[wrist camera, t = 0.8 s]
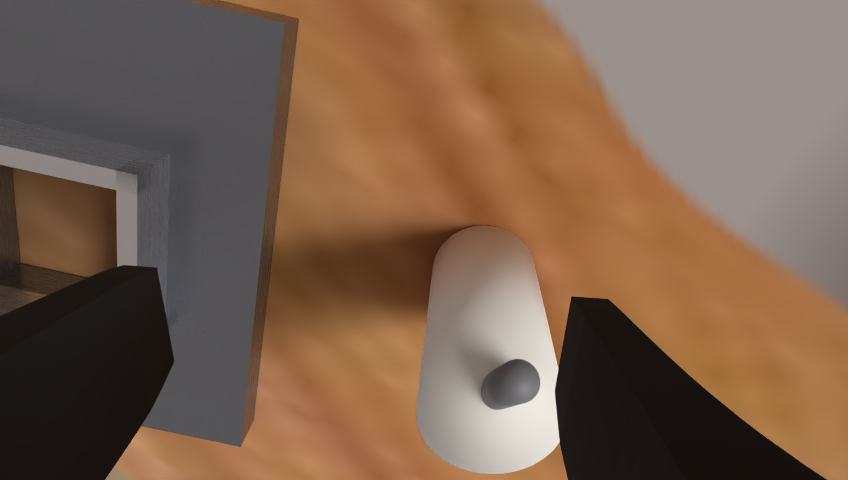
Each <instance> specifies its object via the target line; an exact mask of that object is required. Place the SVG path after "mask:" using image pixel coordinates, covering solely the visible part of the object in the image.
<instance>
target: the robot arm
mask: <svg viewBox="0 0 848 480" xmlns="http://www.w3.org/2000/svg"><path fill="white" fill-rule="evenodd" d="M174 362H175V361H174V356H173V350H172V345H171V340H170V334H169V329H168V324H167V318H166V313H165V308H164V302H163V297H162V292H161V286H160V281H159V276H158V270H157V267H144V266H130V265H122V266H119V267H115V268H112V269H109V270H106V271H104V272H101V273H98V274H96V275H93V276H91V277H89V278H86V279H84V280H81V281H79V282H77V283H74V284H72V285H70V286H67V287H65V288H63V289H60V290H58V291H56V292H54V293H51V294H49V295H47V296H44V297H42V298H40V299H38V300H35V301H33V302H31V303H28V304H26V305H24V306H22V307H19V308H17V309H15V310H12V311H10V312H8V313H6V314H3V315H1V316H0V480H105V479H106V477H107V476H108V474H109V473H110V471H111V470H112V469H113V467H114V466H115V464H116V463H117V461H118V460H119V458H120V457H121V455H122V454H123V452H124V451H125V449H126V448H127V446H128V445H129V443H130V442H131V440H132V439H133V437H134V436H135V434H136V433H137V431H138V430H139V428H140V427H141V425H142V424H143V422H144V421H145V419H146V417H147V416H148V414H149V413H150V411H151V409H152V407H153V406H154V404H155V402H156V400H157V398H158V396H159V394H160V392H161V390H162V388H163V386H164V383H165V381H166V379H167V377H168V375H169V373H170V370H171V368H172V366H173V364H174ZM555 400H556V411H557V421H558V430H559V439H560V446H561V451H562V455H563V460H564V464H565V468H566V473H567V477H568V480H826V479H825V478H823V477H822V476H820V475H819V474H817V473H816V472H814V471H813V470H811V469H810V468H808V467H807V466H805V465H804V464H802V463H801V462H800V461H798V460H797V459H795V458H794V457H793V456H791V455H790V454H788V453H787V452H786V451H784V450H783V449H781V448H780V447H779V446H777V445H776V444H774V443H773V442H772V441H770V440H769V439H767V438H766V437H764V436H763V435H762V434H760V433H759V432H758V431H756V430H755V429H754V428H752V427H751V426H750V425H749V424H747V423H746V422H745V421H743V420H742V419H741V418H739V417H738V416H737V415H736V414H735V413H733V412H732V411H731V410H730V409H728V408H727V407H726V406H725V405H724V404H722V403H721V402H720V401H719V400H718V399H716V398H715V397H714V396H713V395H711V394H710V393H709V392H708V391H707V390H705V389H704V388H703V387H702V386H701V385H700V384H699V383H697V382H696V381H695V380H694V379H693V378H692V377H690V376H689V375H688V374H687V373H686V372H685V371H684V370H683V369H682V368H680V367H679V366H678V365H677V364H676V363H675V362H674V361H673V360H672V359H671V358H670V357H668V356H667V355H666V354H665V353H664V352H663V351H662V350H661V349H660V348H659V347H658V346H657V345H656V344H655V343H654V342H653V341H652V340H651V339H650V338H648V337H647V336H646V335H645V334H644V333H643V332H642V331H641V330H640V329H639V328H638V327H637V326H636V325H635V324H634V323H633V322H632V321H631V320H630V319H629V318H628V317H627V316H626V315H625V314H624V313H623V312H622V311H621V310H620V309H618V308H617V307H616V306H615V305H614V304H613V303H612V302H611V301H610V300H608V299H599V298H584V297H571V302H570V308H569V313H568V319H567V325H566V330H565V336H564V341H563V347H562V353H561V358H560V364H559V369H558V375H557V381H556V386H555Z"/></svg>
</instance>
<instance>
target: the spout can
mask: <svg viewBox="0 0 848 480" xmlns="http://www.w3.org/2000/svg"><path fill="white" fill-rule="evenodd" d="M557 375H558V366H557V361H556V357H555V353H554V348H553V344H552V339H551V335H550V331H549V326H548V322H547V318H546V313H545V309H544V304H543V300H542V296H541V291H540V287H539V283H538V278H537V274H536V270H535V265H534V261H533V258H532V255H531V253H530V251H529V249H528V247H527V246H526V245H525V243H524V242H523V241H522V240H521V239H520V238H519V237H517V236H516V235H515V234H513V233H511V232H509V231H507V230H505V229H502V228H499V227H495V226H484V225H482V226H473V227H469V228H466V229H463V230H461V231H459V232H457V233H455V234H453V235H452V236H450V237H449V238H448V239H447V240H446V241H445V242H444V243H443V244H442V245H441V247H440V248H439V250H438V252H437V254H436V256H435V259H434V263H433V270H432V278H431V287H430V295H429V304H428V313H427V321H426V330H425V339H424V347H423V356H422V365H421V373H420V382H419V390H418V399H417V408H416V420H417V426H418V429H419V432H420V434H421V436H422V438H423V440H424V441H425V443H426V444H427V445H428V447H429V448H430V449H431V450H432V451H433V452H434V453H435V454H436V455H438V456H439V457H440V458H441V459H443V460H445V461H446V462H448V463H450V464H452V465H454V466H456V467H458V468H461V469H464V470H467V471H471V472H476V473H483V474H502V473H510V472H514V471H518V470H521V469H524V468H527V467H529V466H532V465H534V464H536V463H537V462H539V461H541V460H542V459H544V458H545V457H546V456H547V455H549V454H550V453H551V452H552V451H553V450H554V449H555V448H556V446H557V445H558V443H559V442H560V439H559V430H558V421H557V411H556V400H555V386H556V381H557Z"/></svg>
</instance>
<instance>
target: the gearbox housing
mask: <svg viewBox="0 0 848 480" xmlns="http://www.w3.org/2000/svg"><path fill="white" fill-rule="evenodd" d="M298 21H299V19H297V18H293V17H288V16H284V15H280V14H275V13H271V12H267V11H262V10H258V9H254V8H249V7H245V6H241V5H236V4H232V3H228V2H223V1H219V0H0V316H1V315H3V314H6V313H8V312H10V311H12V310H15V309H17V308H19V307H22V306H24V305H26V304H28V303H31V302H33V301H35V300H38V299H40V298H42V297H44V296H47V295H49V294H51V293H54V292H56V291H58V290H60V289H63V288H65V287H67V286H70V285H72V284H74V283H77V282H79V281H81V280H84V279H86V278H85V277H80V276H76V275H71V274H66V273H62V272H57V271H53V270H48V269H43V268H39V267H34V266H29V265H25V264H20V253H19V242H18V232H17V221H16V210H15V200H14V189H13V178H12V167H13V168H18V169H22V170H27V171H31V172H36V173H40V174H45V175H49V176H54V177H58V178H63V179H67V180H72V181H77V182H81V183H86V184H90V185H95V186H99V187H104V188H108V189H113V190H116V212H117V267H119V266H122V265H130V266H144V267H157V270H158V276H159V281H160V286H161V292H162V297H163V302H164V308H165V313H166V318H167V324H168V329H169V334H170V340H171V345H172V350H173V356H174V361H175V362H174V364H173V366H172V368H171V370H170V373H169V375H168V377H167V379H166V381H165V383H164V386H163V388H162V390H161V392H160V394H159V396H158V398H157V400H156V402H155V404H154V406H153V407H152V409H151V411H150V413H149V414H148V416H147V417H146V419H145V421H144V422H143V424H142V425H141V426H144V427H149V428H153V429H158V430H163V431H168V432H172V433H177V434H182V435H187V436H192V437H196V438H201V439H206V440H211V441H215V442H220V443H225V444H230V445H234V446H239V447H241V445H242V443H243V441H244V439H245V437H246V435H247V433H248V431H249V428H250V426H251V424H252V422H253V419H254V411H255V402H256V393H257V384H258V375H259V366H260V357H261V349H262V340H263V331H264V322H265V313H266V304H267V295H268V287H269V278H270V269H271V260H272V251H273V242H274V233H275V225H276V216H277V207H278V198H279V189H280V180H281V171H282V163H283V154H284V145H285V136H286V127H287V118H288V109H289V100H290V92H291V83H292V74H293V65H294V56H295V47H296V38H297V30H298Z"/></svg>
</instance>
